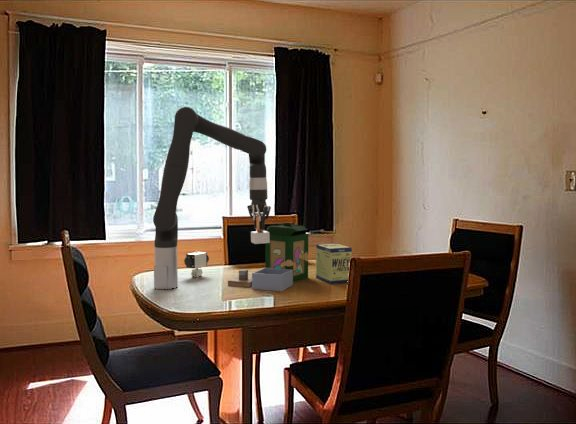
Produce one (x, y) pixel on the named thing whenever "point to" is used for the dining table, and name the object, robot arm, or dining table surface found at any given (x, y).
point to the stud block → (241, 279)
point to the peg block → (259, 234)
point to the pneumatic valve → (196, 262)
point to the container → (288, 249)
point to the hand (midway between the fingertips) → (259, 229)
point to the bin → (272, 279)
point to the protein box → (333, 262)
